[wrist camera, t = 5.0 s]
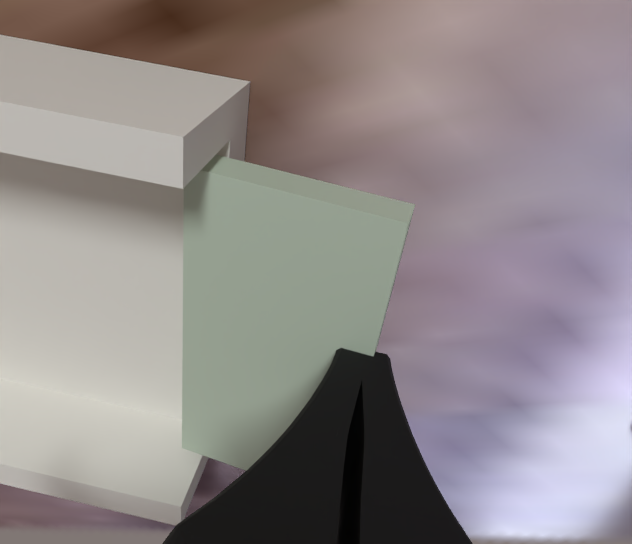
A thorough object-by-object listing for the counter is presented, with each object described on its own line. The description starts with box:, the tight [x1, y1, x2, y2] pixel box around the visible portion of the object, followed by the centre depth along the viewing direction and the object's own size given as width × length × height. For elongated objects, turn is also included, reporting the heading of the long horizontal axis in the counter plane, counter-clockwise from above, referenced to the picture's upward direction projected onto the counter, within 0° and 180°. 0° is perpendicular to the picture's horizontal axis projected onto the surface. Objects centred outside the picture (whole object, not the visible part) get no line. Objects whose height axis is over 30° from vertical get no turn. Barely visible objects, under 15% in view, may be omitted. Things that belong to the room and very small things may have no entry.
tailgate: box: [182, 155, 415, 471], centre depth 14 cm, size 2×9×5 cm
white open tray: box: [0, 35, 250, 525], centre depth 15 cm, size 12×12×4 cm
